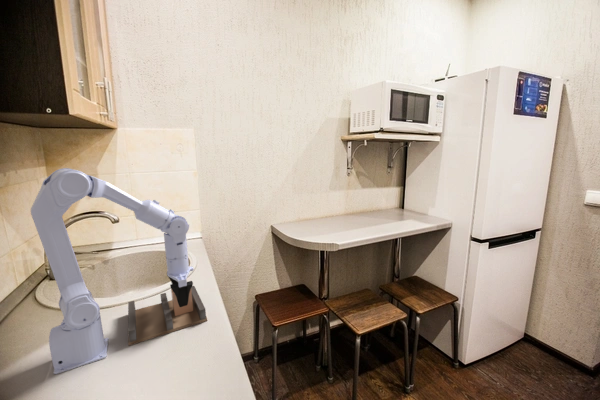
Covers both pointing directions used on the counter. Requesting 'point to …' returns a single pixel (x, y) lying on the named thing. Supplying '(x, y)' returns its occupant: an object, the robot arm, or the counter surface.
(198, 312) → the rack
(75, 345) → the robot arm
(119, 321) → the counter surface
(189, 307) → the block
